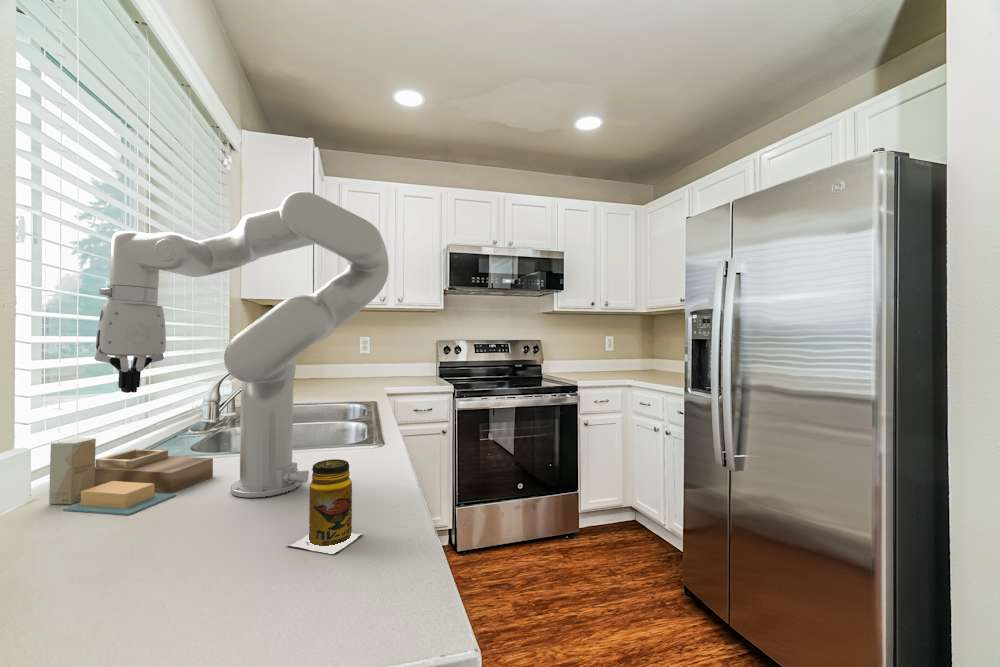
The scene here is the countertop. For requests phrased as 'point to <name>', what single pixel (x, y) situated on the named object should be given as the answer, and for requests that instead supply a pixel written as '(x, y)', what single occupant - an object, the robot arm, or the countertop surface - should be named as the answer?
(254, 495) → the robot arm
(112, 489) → the tan rectangular block
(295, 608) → the countertop surface
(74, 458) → the box
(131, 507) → the mat
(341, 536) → the condiment
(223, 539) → the countertop surface
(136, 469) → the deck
